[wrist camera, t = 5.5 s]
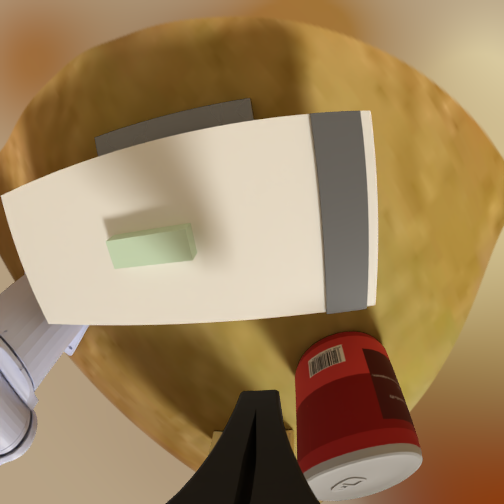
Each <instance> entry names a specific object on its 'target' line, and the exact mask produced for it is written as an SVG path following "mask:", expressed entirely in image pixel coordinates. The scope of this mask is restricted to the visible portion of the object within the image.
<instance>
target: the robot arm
mask: <svg viewBox="0 0 504 504" xmlns="http://www.w3.org/2000/svg"><path fill="white" fill-rule="evenodd" d="M88 327H89V325H67V324H48V322H47V320H46V318H45V316H44V314H43V312H42V310H41V307H40V305H39V303H38V301H37V299H36V297H35V294H34V292H33V290H32V287H31V285H30V283H29V280H28V278H27V275H26V273H24V275H23V276H22V277H20V278H19V279H18V280H17V281H15V282H14V283H13V284H12V285H10V286H9V287H8V288H7V289H6V290H4V291H3V292H2V293H1V294H0V465H2V464H4V463H6V462H9V461H12V460H15V459H16V458H19V457H20V456H21V455H23V454H24V453H25V452H26V451H27V450H28V449H29V447H30V446H31V444H32V442H33V440H34V437H35V434H36V430H37V417H36V414H35V411H34V410H33V409H34V407H35V406H36V404H37V402H38V401H39V400H38V399H37V397H36V396H35V394H34V392H35V390H36V389H37V387H38V386H39V384H40V383H41V382H42V380H43V379H44V377H45V376H46V375H47V373H48V372H49V370H50V369H51V368H52V367H53V365H54V364H55V363H56V361H57V360H58V359H59V357H60V356H61V355H62V353H63V352H65V353H67V354H68V355H72V354H73V353H74V351H75V349H76V348H77V346H78V344H79V342H80V341H81V339H82V337H83V335H84V333H85V332H86V330H87V328H88ZM166 504H320V503H319V501H318V499H317V498H316V496H315V495H314V493H313V491H312V489H311V488H310V486H309V484H308V482H307V480H306V478H305V476H304V474H303V473H302V471H301V468H300V466H299V464H298V462H297V460H296V457H295V455H294V453H293V450H292V448H291V445H290V442H289V439H288V436H287V433H286V430H285V427H284V424H283V416H282V409H281V403H280V396H279V391H277V390H263V391H243V392H241V393H240V396H239V399H238V401H237V404H236V406H235V409H234V411H233V413H232V415H231V417H230V419H229V421H228V423H227V425H226V427H225V429H224V431H223V433H222V434H221V436H220V438H219V440H218V441H217V443H216V444H215V446H214V448H213V449H212V451H211V452H210V454H209V455H208V457H207V458H206V460H205V461H204V462H203V464H202V465H201V466H200V468H199V469H198V470H197V472H196V473H195V474H194V475H193V476H192V478H191V479H190V480H189V481H188V482H187V483H186V484H185V486H184V487H183V488H182V489H181V490H180V491H179V492H178V493H177V494H176V495H175V496H174V497H173V498H171V499H170V500H169V501H168V502H167V503H166Z"/></svg>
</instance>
